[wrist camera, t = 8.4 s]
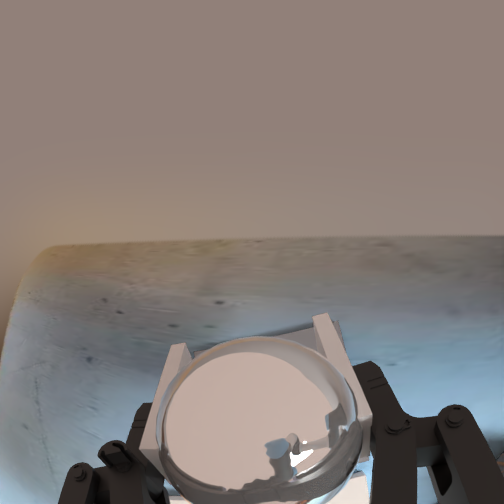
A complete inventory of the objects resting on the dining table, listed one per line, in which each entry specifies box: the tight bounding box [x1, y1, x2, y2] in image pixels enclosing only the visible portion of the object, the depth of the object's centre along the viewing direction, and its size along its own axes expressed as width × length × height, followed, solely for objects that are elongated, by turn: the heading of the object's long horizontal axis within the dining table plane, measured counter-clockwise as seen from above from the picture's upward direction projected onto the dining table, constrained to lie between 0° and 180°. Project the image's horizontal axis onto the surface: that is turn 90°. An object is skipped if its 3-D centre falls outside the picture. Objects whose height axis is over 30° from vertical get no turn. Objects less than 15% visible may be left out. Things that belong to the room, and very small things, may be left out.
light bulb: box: [155, 336, 364, 504], centre depth 11 cm, size 7×7×12 cm
